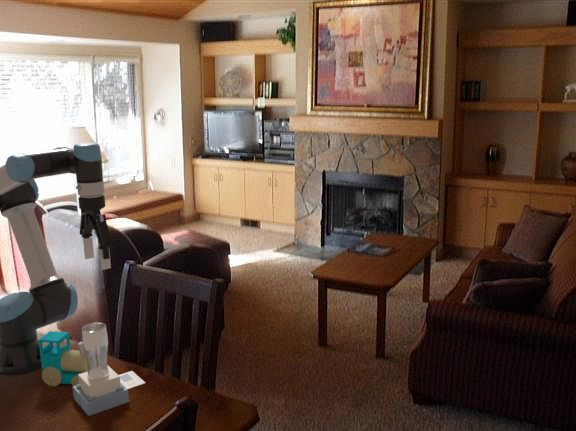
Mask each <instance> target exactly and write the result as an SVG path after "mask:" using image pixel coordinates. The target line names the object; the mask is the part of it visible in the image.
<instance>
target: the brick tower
mask: <svg viewBox="0 0 576 431" xmlns="http://www.w3.org/2000/svg"><path fill="white" fill-rule="evenodd" d="M107 366H108V370H109V375H108V376H107V377H106V378H103V379H100V380H91V379H89V378H88V376H87V374H88V372H84V373H81V374H78V378H79V384H77V385H76V386H73V385H72V394H73V399H74V400H75V403H77V404H78V405H79V407H80V406H81V407H80V408H81V409H82V410H83V411H84V413H85V414H86V415H87V416H88V417H90V416H93V415H96V414H99V413H101V411H102V412H104V410H105V411H107V410H110V409H113V408H115V407H119V406H122V405H124V404H127V403H129V402H130V400H129V389H127V388H126V387H125V386H124V385H123V384H122V383H121V382H120V376H119V375H120V374H118V373H117V372H116V371H114V369H112V368H111V367H110V365H108V364H107ZM121 404H122V405H121Z"/></svg>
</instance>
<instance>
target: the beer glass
mask: <svg viewBox="0 0 576 431" xmlns="http://www.w3.org/2000/svg"><path fill="white" fill-rule="evenodd" d="M81 336H82V337H81V342H82V343H83V349H84V353H85V356H86V359H87V363H88V374H87V376H88V378H89V379H91V380H100V379H103V378H106V377H107V376H108V375H109V370H108V366H109V365H108V363H107V362H108V361H107V360H108V351H109V350H108V349H109V339H108V338H109V337H108V332H107V325H106V323H102V322H92V323H87V324H85V325H83V326H82V328H81ZM107 365H108V366H107Z"/></svg>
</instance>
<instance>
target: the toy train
mask: <svg viewBox="0 0 576 431" xmlns="http://www.w3.org/2000/svg"><path fill="white" fill-rule="evenodd" d="M65 340H66V343H65V345H63V346H60V344H62V343H64V341H65ZM38 341H39V348H40V356H41V364H42V366H41V371H42V372H41V379H42V381H43V382H44V383H45V384H46V385H48V386H50V387H57V386H59V385H60V384H66V385H67V384H68V385H72V387H73V386H76V385H77V384H79V378H78V374H81V373H84V372H88V363H87V359H86V356H85V353H84V349H83V343H82V341H79V342H78V343H77V345H78V349H79V350H75V349H71V342H70V341H71V340H70V333H69V331H56V330H55V331H54V330H53V331H52V330H49V331H48V332H47V333H45V334H44V335H43V336H41V338H38ZM43 343H47V344H46V345H44V347H43ZM54 344H56V345H55V346H54Z"/></svg>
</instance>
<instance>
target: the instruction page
mask: <svg viewBox="0 0 576 431" xmlns="http://www.w3.org/2000/svg"><path fill="white" fill-rule="evenodd" d="M118 375H119V376H120V382H121V383H122V384H123V385H124V386H125V387H126V388H127V389H128V390H130V389H134V388H137V387H139V386H142V385H145V384H146V382H145V381H144V380H143V379H142V378H141V377H140V376H138V374H136V372H134V371H133V370H130V371H127V372H124V373H121V374H118Z"/></svg>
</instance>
